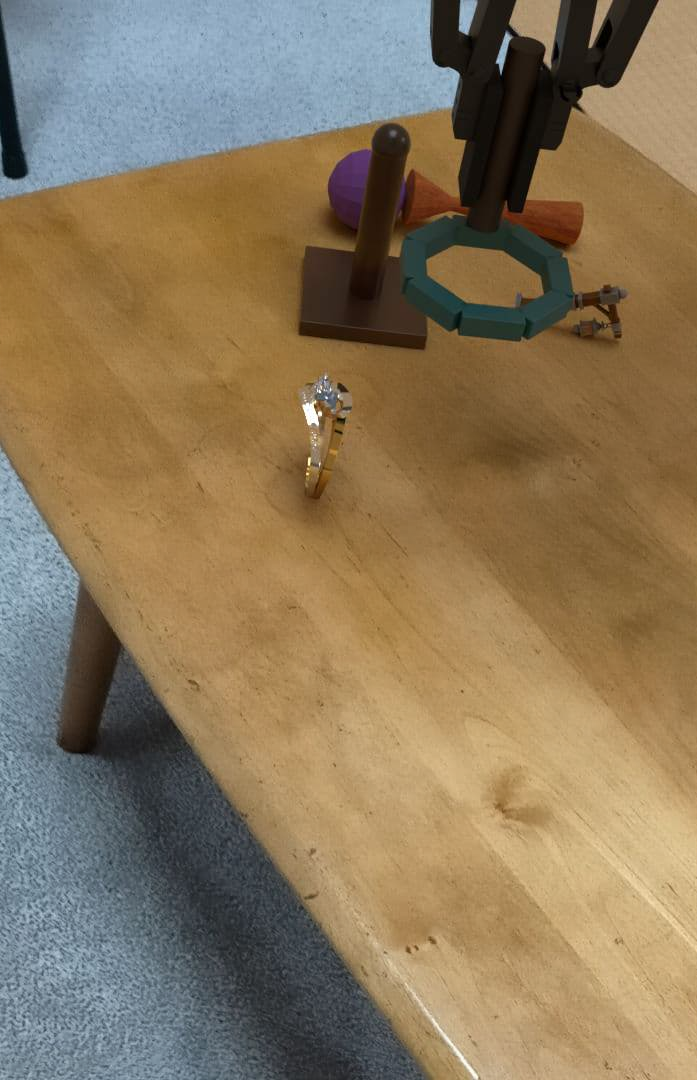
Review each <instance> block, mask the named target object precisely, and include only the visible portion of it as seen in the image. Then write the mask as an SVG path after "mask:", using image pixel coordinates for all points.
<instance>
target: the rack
mask: <svg viewBox="0 0 697 1080" xmlns="http://www.w3.org/2000/svg"><path fill="white" fill-rule="evenodd" d="M370 145H371V146H370V147H371V149H370V150H371V156H370V162H369V168H368V174H367V180H366V186H365V192H364V198H363V204H362V210H361V216H360V222H359V228H358V229H357V234H356V240H355V246H354V251H352V250H345V249H338V248H331V247H330V248H329V247H320V246H312V245H305V248H304V249H305V250H304V255H303V256H304V257H303V269H302V270H303V271H302V282H301V284H302V285H301V296H300V297H301V298H300V310H299V323H298V324H299V325H298V335H302V336H310V337H311V336H312V337H320V338H327V339H336V340H342V341H343V340H344V341H345V340H346V341H352V342H362V343H370V344H377V345H385V346H386V345H387V346H394V347H402V348H411V349H420V350H425V349H426V345H427V340H428V316H426V315H425V314H424V313H422V312H421V311H419V310H418V309H417V308H415V307H414V306H412V305H411V304H410V303H408V302H407V301H405V300H404V299H405V295H403V294H401V286H400V264H399V256H392V255H391V256H390V255H389V254H390V249H391V245H392V240H393V233H394V229H395V223H396V219H397V217H396V213H397V208H398V203H399V198H400V193H401V187H402V182H403V177H405V172H406V166H407V161H408V156H409V154H410V152H411V149H412V140H411V135H410V133H409V131H408V130H407V129H406V127H404V126H403V125H401V124H399V123H398V122H397V123H396V122H386V123H384V124H381V125H380V126H378V128H376V129H375V131H374V132H373V135H372V137H371V143H370Z"/></svg>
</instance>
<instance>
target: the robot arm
mask: <svg viewBox="0 0 697 1080" xmlns="http://www.w3.org/2000/svg"><path fill="white" fill-rule="evenodd" d="M598 1H599V0H560V3H559V8H558V15H557V21H556V26H555V33H554V39H553V44H552V51H551V56H550V66H551V67H550V69H543V68H541V71H540V74H539V78H538V82H537V86H536V89H535V93H534V97H533V101H532V105H531V108H530V112H529V116H528V120H527V123H526V127H525V131H524V135H523V139H522V142H521V146H520V150H519V154H518V158H517V161H516V165H515V169H514V173H513V177H512V180H511V184H510V188H509V192H508V195H507V199H506V201H507V208H508V212H513V213H523V209H524V205H525V202H526V200H527V198H528V194H529V191H530V188H531V183H532V180H533V176H534V172H535V169H536V165H537V161H538V159H539V155H540V151H541V150H545V151H553V152H556V151H557V150H558V148H559V147H560V146H561V144H562V143H563V140H564V136H565V133H566V129H567V126H568V123H569V119H570V116H571V112H572V109H573V105H574V104H576V103H578V102H580V100H581V99H582V97H583V95H584V91H583V90H584V89H586V88H589V87H595V86H599V87H601V88H603V89H611V88H614V87H615V86H617V85H618V84H619V83H620V82H621V80H622V78H623V76H624V74H625V72H626V70H627V69H628V66H629V63H630V62H631V59H632V57H633V55H634V53H635V51H636V49H637V47H638V45H639V43H640V41H641V39H642V36H643V34H644V33H645V30H646V28H647V26H648V24H649V22H650V20H651V18H652V16H653V14H654V12H655V10H656V7H657V6H658V3H659V2H660V0H612V1H611V4H610V5H609V8H608V10H607V12H606V14H605V17H604V19H603V22H602V23H601V26H600V28H599V30H598V31H597V34H596V37H595V39H594V41H593V42H592V45H591V46H590V43H591V42H590V41H591V36H592V31H593V26H594V22H595V16H596V10H597V7H598ZM516 3H517V0H477V3H476V7H475V10H474V12H473V16H472V20H471V23H470V26H469V29H468V31H467V33H465V32H462V31H461V30H460V19H461V18H460V17H461V0H430V10H429V12H430V13H429V38H430V39H429V40H430V49H431V51H430V52H431V60H432V62H433V63H434V65H435V66H437V67H438V68H443V69H446V68H450V69H451V70H454V71H455V72H457V73H458V76H459V77H458V80H457V86H456V91H455V96H454V100H453V104H452V109H451V114H450V115H451V117H450V118H451V125H452V127H451V128H452V133H453V138H454V140H460V141H465V145H464V149H463V154H462V156H461V162H460V166H459V170H458V175H457V183H458V193H459V197H460V203H461V206H462V207H470V208H475V206H476V202H477V198H478V194H479V190H480V186H481V182H482V178H483V174H484V169H485V165H486V161H487V157H488V153H489V149H490V145H491V141H492V137H493V132H494V128H495V124H496V120H497V116H498V112H499V108H500V104H501V99H502V95H503V86H502V80H501V73H502V72H501V68H500V63H497V60H498V58H499V55H500V51H501V48H502V45H503V42H504V40H505V36H506V34H507V30H508V29H509V28H508V27H509V25H510V22H511V19H512V16H513V12H514V10H515V6H516ZM589 46H590V47H589Z"/></svg>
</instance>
